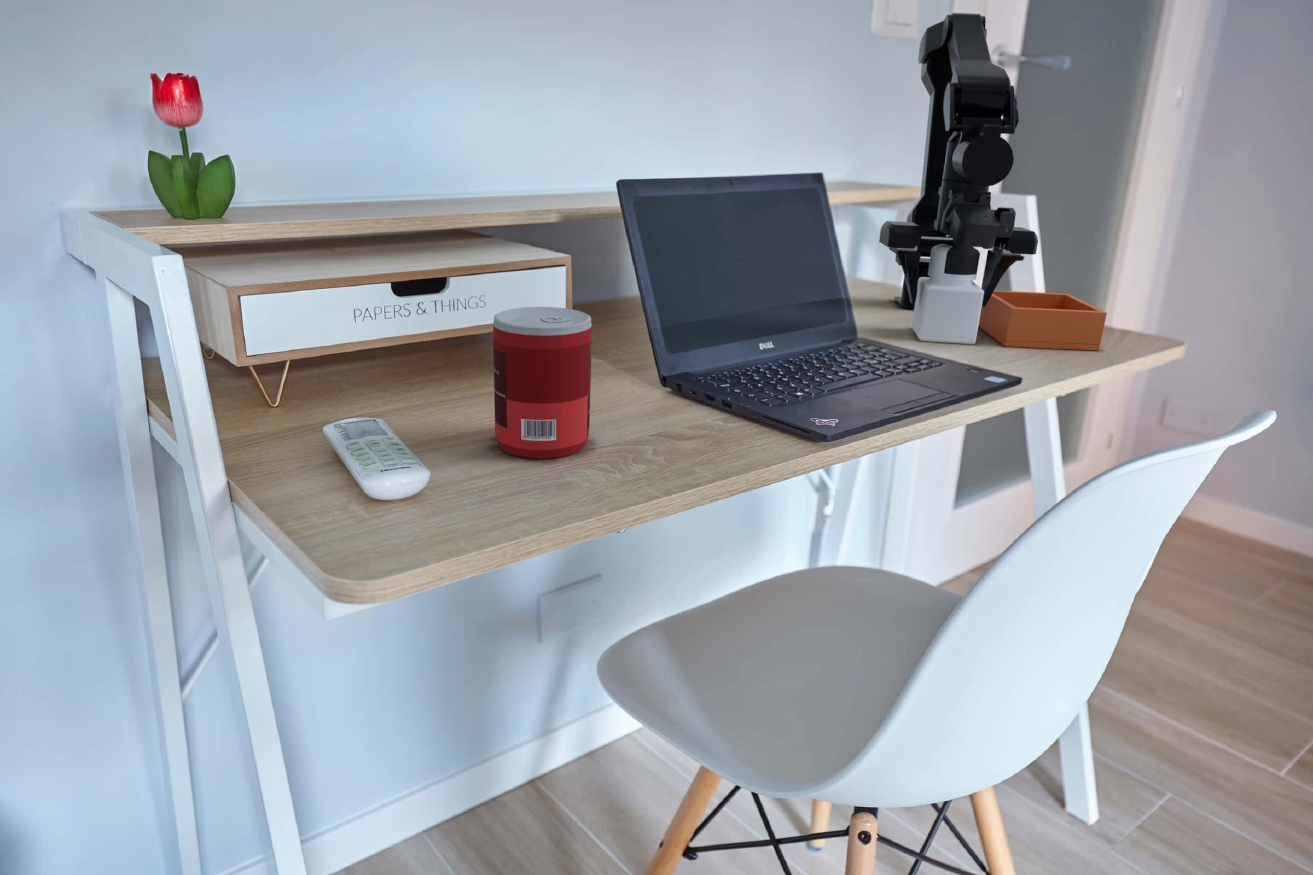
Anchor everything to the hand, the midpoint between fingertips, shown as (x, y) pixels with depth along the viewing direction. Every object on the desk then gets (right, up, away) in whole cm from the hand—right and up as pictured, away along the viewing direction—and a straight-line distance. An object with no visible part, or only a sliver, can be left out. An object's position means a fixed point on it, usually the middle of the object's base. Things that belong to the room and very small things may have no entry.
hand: (947, 304), depth 121 cm
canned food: (-48, -18, -43) cm, 67 cm away
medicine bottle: (0, -4, +2) cm, 5 cm away
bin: (+13, -4, +3) cm, 14 cm away
